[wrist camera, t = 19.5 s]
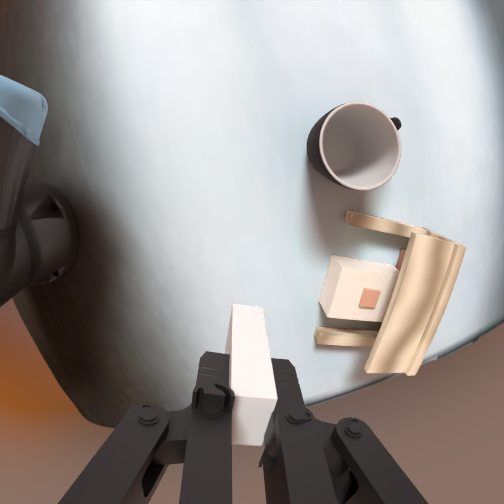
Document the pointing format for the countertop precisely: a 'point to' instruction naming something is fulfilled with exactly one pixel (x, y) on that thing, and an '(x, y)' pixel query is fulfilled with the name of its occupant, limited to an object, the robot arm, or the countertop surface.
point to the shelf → (405, 299)
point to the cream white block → (357, 289)
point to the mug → (355, 146)
